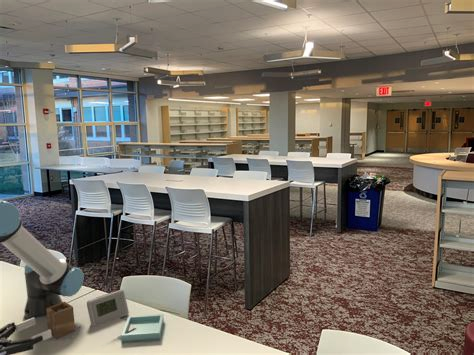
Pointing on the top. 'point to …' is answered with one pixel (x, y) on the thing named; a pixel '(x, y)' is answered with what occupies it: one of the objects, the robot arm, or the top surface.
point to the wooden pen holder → (60, 320)
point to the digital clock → (107, 307)
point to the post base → (66, 335)
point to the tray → (143, 328)
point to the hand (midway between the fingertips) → (42, 326)
